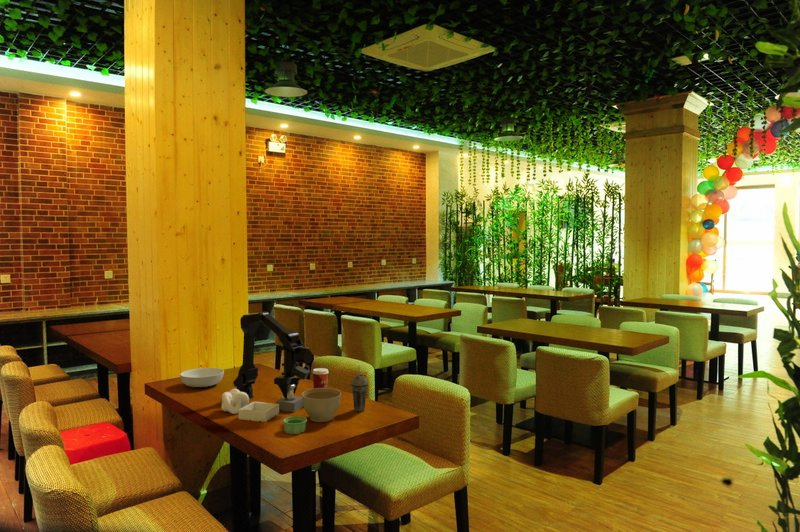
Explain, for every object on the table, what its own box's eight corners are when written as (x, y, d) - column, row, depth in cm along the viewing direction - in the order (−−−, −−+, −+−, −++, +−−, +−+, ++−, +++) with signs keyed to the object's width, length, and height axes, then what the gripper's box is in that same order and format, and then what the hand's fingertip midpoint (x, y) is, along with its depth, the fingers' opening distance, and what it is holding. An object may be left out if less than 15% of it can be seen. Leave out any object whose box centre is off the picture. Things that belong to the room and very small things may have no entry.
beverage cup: (370, 408, 239) (370, 364, 238) (363, 413, 232) (364, 367, 231) (355, 407, 242) (355, 362, 241) (348, 411, 235) (348, 366, 234)
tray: (238, 419, 222) (238, 409, 222) (254, 410, 234) (254, 401, 234) (264, 422, 219) (264, 412, 219) (279, 413, 231) (279, 404, 231)
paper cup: (325, 402, 248) (325, 372, 247) (309, 400, 250) (309, 370, 249) (330, 397, 256) (331, 368, 255) (315, 396, 257) (315, 367, 257)
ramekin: (285, 436, 204) (285, 424, 204) (281, 428, 212) (281, 417, 212) (309, 433, 208) (309, 422, 208) (303, 425, 216) (303, 415, 216)
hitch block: (275, 410, 235) (275, 401, 235) (285, 404, 244) (285, 395, 244) (294, 412, 233) (294, 403, 232) (303, 406, 241) (303, 397, 241)
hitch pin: (282, 409, 237) (282, 385, 236) (287, 406, 241) (287, 382, 241) (292, 410, 235) (292, 386, 235) (296, 407, 240) (297, 383, 239)
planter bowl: (293, 419, 223) (293, 393, 223) (322, 410, 236) (323, 385, 235) (319, 428, 213) (319, 401, 213) (348, 418, 225) (349, 392, 225)
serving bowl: (207, 378, 288) (207, 365, 287) (232, 384, 275) (232, 371, 275) (171, 386, 271) (171, 372, 271) (196, 393, 259) (196, 379, 258)
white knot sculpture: (213, 411, 232) (213, 390, 232) (237, 405, 241) (237, 385, 241) (227, 417, 225) (227, 396, 224) (252, 410, 234) (252, 390, 233)
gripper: (297, 366, 226) (297, 403, 227) (316, 357, 244) (315, 392, 245) (273, 364, 229) (273, 401, 230) (293, 356, 247) (293, 389, 248)
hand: (289, 395), depth 238 cm, fingers open, 7 cm apart
